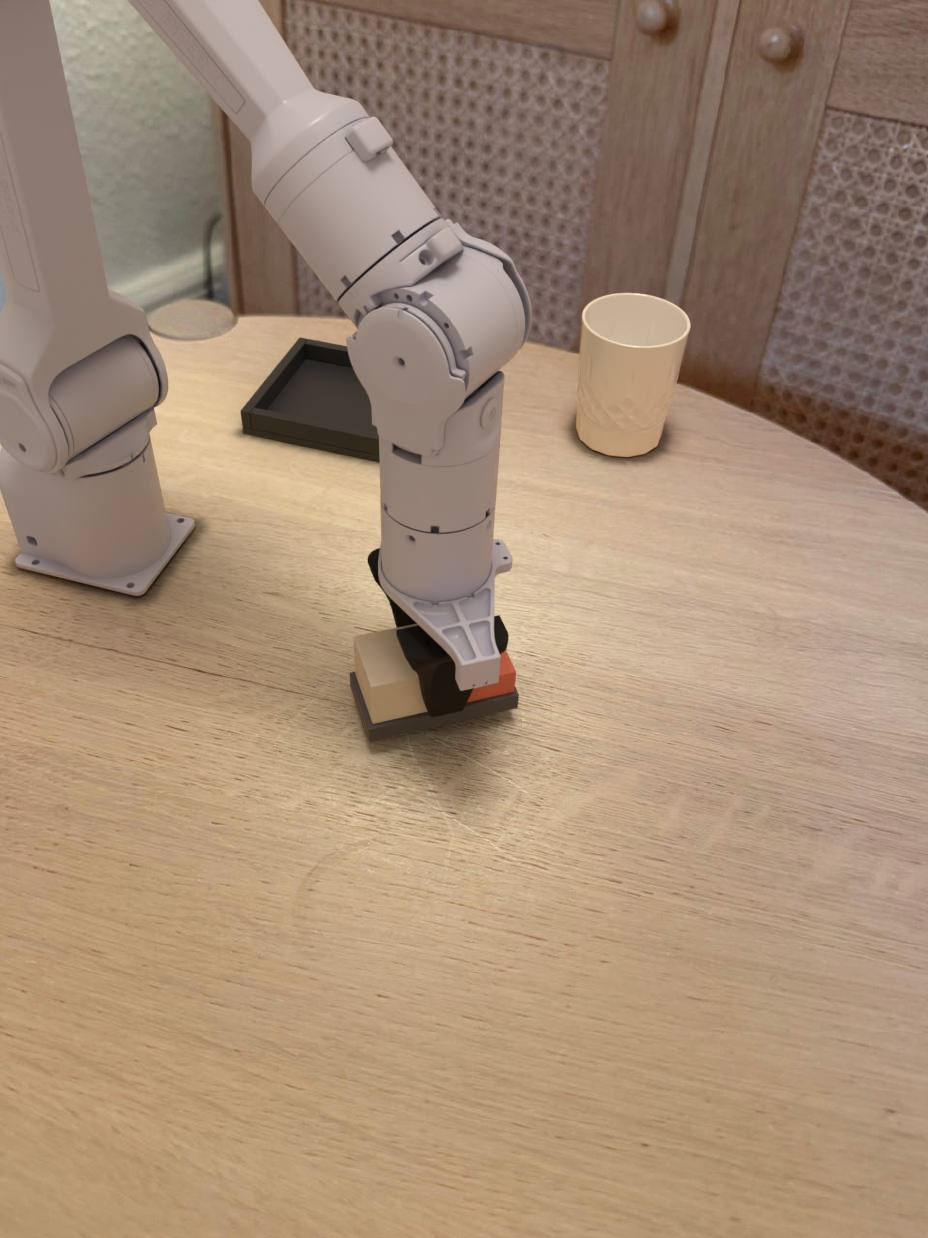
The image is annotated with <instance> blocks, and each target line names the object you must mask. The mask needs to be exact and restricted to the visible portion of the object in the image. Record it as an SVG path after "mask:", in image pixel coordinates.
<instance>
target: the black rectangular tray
mask: <svg viewBox="0 0 928 1238" xmlns="http://www.w3.org/2000/svg"><path fill="white" fill-rule="evenodd" d="M240 418H241V425H242V434H245V435H250V436H255V437H259V438H263V439H269V440H273V441H278V442H284V443H288V444H292V445H298V446H303V447H308V448H311V449H317V450H322V451H326V452H332V453H336V454H341V455H345V456H350V457H354V458H355V457H356V458H359V459H360V458H361V459H365V460H369V461H375V462H379V463H380V459H379V435H378V432H377V427H376V426H374V425H372V409H371V402H370V399H369V396H368V394H367V392H366V390H365V388H364V387H363V385H362V384H361V382H360V381H359V379H358V377H357V375H356V373H355V371H354V369H353V367H352V364H351V361H350V358H349V355H348V350H347V345H343V344H337V343H331V342H326V341H322V340H317V339H311V338H305V337H299V338H298V339H297V340H296V341H295V342H294V344H293V345H292V346H291V347H290V349H289V350H288V351H287V353H285V355H284V356H283V357H282V359H281V360H279V362H278V364H277V365H276V366H275V367H274V369H273V370H272V371H271V372H270V373H269V375H268V376H267V377H266V378H265V380H264V381H263V382H262V383H261V384H260V385H259V387H258V388H257V390H256V391H255V392H254V393H253V394H252V396H251V397H250V398H249V399H248V400H247V402H246V403H245V404H244V406H243V407H242V408H241V410H240Z"/></svg>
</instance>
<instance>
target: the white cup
mask: <svg viewBox="0 0 928 1238" xmlns="http://www.w3.org/2000/svg"><path fill="white" fill-rule="evenodd" d="M691 325H692V324H691V320H690V317H689V316H688V314H687V313H686V312H685V311H684V310H683V309H682V308H680V307H679V306H678V305H676V304H675V303H674V302H671V301H669V300H667V299H664V298H661V297H658V296H654V295H651V294H645V293H639V292H617V293H616V292H615V293H611V294H606V295H603V296H599V297H598V298H595V299H593V300H591V301H590V302H588V303H587V304H586V305H585V307H584V308H583V310H582V313H581V324H580V340H579V354H578V365H577V367H578V368H577V389H576V402H577V407H576V417H575V429H576V432H577V435H578V438H579V440H580V441H581V442H583V443H584V444H585V445H586V446H587V447H588V448H589V449H590V450H593V451H596V452H598V453H601V454H603V455H606V456H609V457H621V458H622V457H623V458H630V457H637V456H641V455H645V454H647V453H649V452H650V451H651V450H653V449H655V448H656V447H658V445H659V442H660V441H661V438H662V435H663V431H664V427H665V423H666V419H667V415H669V412H670V409H671V405H672V401H673V398H674V394H675V391H676V387H677V383H678V379H679V375H680V371H681V368H682V367H681V366H682V363H683V359H684V355H685V351H686V347H687V344H688V338H689V334H690V331H691Z"/></svg>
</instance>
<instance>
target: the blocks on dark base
mask: <svg viewBox="0 0 928 1238" xmlns="http://www.w3.org/2000/svg"><path fill="white" fill-rule="evenodd" d="M417 625H418V624H412V625H407V626H402V627H398V628H396V627H393V628H388V629H384V630H378V631H373V632H369V633H364V634H360V635H354V636H353V654H354V655H353V657H354V671H351V672H349V686H350V690H351V692H352V696H353V698H354V702H355V705H356V707H357V711H358V714H359V717H360V719H361V722H362V725H363V729H364V731H365V734H366V737H367V741H368V742H369V743H372V742H373V743H374V742H377V741H381V740H385V739H388V738H389V739H391V738H394V737H395V738H396V737H398V736H403V735H407V734H411V733H416V732H419V731H420V732H421V731H425V730H429V729H433V728H438V727H442V726H445V725H450V724H454V723H459V722H463V721H467V720H471V719H476V718H480V717H485V716H490V715H494V714H497V713H502V712H506V711H511V710H515V709H518V707H519V698H520V694H519V692H518V690H517V688H516V679H517V670H516V668H515V666H514V664H513V662H512V659H511V658H510V656H509V654H508V652H507V649H506V650H505V651H504V652H503V653H502V654H500V656H501V659H500V671H499V682H498V683H495V684H490V685H487V686H483V687H479V688H474V689H473V691H472V693H471V695H470V697H469V700H468V702H467V704H466V706H465V708H464V710H463V711H460V712H455V713H451V714H447V715H442V716H438V717H434V718H432V717H430V715H429V714H428V711H427V709H426V706H425V704H424V701H423V698H422V694H421V689H420V683H419V678H418V674H417V673H416V672H415V671H414V670H413V669H412V668H411V666H410V665H409V663H408V661H407V660H406V658H405V656H404V653H403V651H402V648H401V646H400V643H399V641H398V638H397V636H396V630H398V629H403V628H408V627H412V626H417Z"/></svg>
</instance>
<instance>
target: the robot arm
mask: <svg viewBox="0 0 928 1238" xmlns="http://www.w3.org/2000/svg"><path fill="white" fill-rule="evenodd" d="M50 1H51V0H0V272H1V276H2V280H3V284H4V287H5V290H6V294H7V300H6V303H5V305H4V306H3V308H2V310H1V311H0V445H1V448H0V494H1V497H2V499H3V502H4V506H5V509H6V511H7V514H8V517H9V520H10V523H11V526H12V529H13V531H14V534H15V537H16V541H17V543H18V546H19V549H20V553H19V554H18V555H17V556H16V558H15V559H14V563H15V565H16V567H17V568H18V569H24V570H27V571H31V572H35V573H40V574H44V575H47V576H52V577H57V578H59V579H65V580H69V581H73V582H77V583H81V584H85V585H88V586H93V587H98V588H100V589H105V590H110V591H113V592H117V593H121V594H126V595H129V596H134V597H141V596H142V595H144V594H146V592H147V591H148V590H149V588H150V587H151V585H152V584H153V583H154V581H155V580H156V579H157V577H158V576H159V575H160V574H161V572H162V571H163V570H164V568H165V567H166V566H167V564H169V562H170V560H171V559H172V558H173V556H174V555H175V554H176V552H177V551H178V549H179V548H180V547H181V546H182V544H183V543H184V542H185V540H186V539H187V538H188V537H189V535H190V534H191V533H192V531H193V530H194V529H195V527H196V523H195V519H194V518H192V517H188V516H184V515H178V514H174V513H170V512H166V511H167V510H166V506H165V502H164V497H163V491H162V487H161V481H160V477H159V472H158V468H157V463H156V458H155V454H154V448H153V444H152V440H151V431H152V430H153V429H154V428H155V427H156V426H158V421H157V415H156V411H155V408H156V407H159V406H160V405H162V404H163V402H164V401H165V400H166V399H167V396H168V393H169V377H168V371H167V368H166V364H165V360H164V358H163V356H162V354H161V352H160V350H159V348H158V347H157V345H156V344H155V341H154V340H153V337H152V334H151V332H150V329H149V324H148V319H147V314H146V313H147V312H146V311H145V309H143V308H142V307H141V306H139V305H138V304H137V303H136V302H135V301H133V300H132V299H130V298H129V297H127V296H125V295H123V294H121V293H119V292H117V291H115V290H114V289H110V288H108V284H107V283H108V282H107V278H106V274H105V268H104V263H103V258H102V253H101V249H100V243H99V239H98V234H97V230H96V224H95V219H94V216H93V215H94V214H93V209H92V204H91V199H90V194H89V189H88V185H87V179H86V175H85V170H84V164H83V159H82V155H81V149H80V145H79V140H78V135H77V130H76V126H75V125H76V124H75V120H74V116H73V110H72V105H71V100H70V95H69V90H68V86H67V81H66V75H65V71H64V66H63V60H62V56H61V52H60V46H59V41H58V37H57V31H56V26H55V22H54V17H53V12H52V7H51V2H50ZM127 2H128V3H129V4H130V5H131V7H133V9H134V10H135V11H136V12H137V13H138V15H140V17H141V18H142V19H143V20H144V21H145V22H146V24H147V25H148V26H149V27H150V28H151V29H152V30H153V32H154V33H155V34H156V35H157V36H158V37H159V38H160V40H161V41H162V42H163V44H165V46H166V47H167V49H169V50H170V51H171V52H172V53H173V55H174V56H175V57H176V58H177V59H178V61H179V62H180V63H181V64H182V65H183V67H185V69H186V70H187V71H188V72H189V73H190V74H191V76H192V77H193V78H194V79H195V80H196V81H197V82H198V83H199V85H200V86H201V87H202V88H203V89H204V91H206V93H207V94H208V95H209V96H210V97H211V98H212V100H213V101H214V102H215V103H216V104H217V105H218V107H219V108H220V109H221V110H222V111H223V112H224V113H225V115H226V116H227V117H228V118H229V119H230V120H231V121H232V123H233V124H234V125H235V126H236V127H237V128H238V130H239V131H240V132H241V133H242V134H243V135H244V136H245V137H246V139H247V140H248V141H249V143H250V150H251V176H250V177H251V179H250V180H251V181H250V182H251V190H252V192H253V194H254V195H255V197H256V198H258V200H259V202H260V203H261V204H262V206H263V207H264V208H265V210H266V211H267V212H268V213H269V215H270V216H271V217H272V219H273V221H275V222H276V224H277V225H278V227H279V228H280V229H281V231H282V232H283V234H285V236H286V237H287V239H288V240H289V241H290V242H291V244H292V245H293V247H294V248H295V249H296V250H297V252H298V253H299V254H300V256H301V257H302V259H304V261H305V262H306V263H307V265H308V266H309V267H310V269H311V271H313V273H314V274H315V275H316V277H317V278H318V279H319V280H320V282H321V283H322V285H323V286H324V287H325V289H326V290H327V291H328V292H329V294H330V295H331V296H332V297H333V299H334V300H335V302H336V303H337V304H338V305H339V307H340V308H341V309H342V311H343V312H344V313H345V314H346V316H347V318H348V319H349V320H350V321H351V323H352V324H353V325H354V326H355V328H356V331H355V332H354V333H353V334H352V336H347V337H346V338H345V342H346V343H345V344H346V346H347V350H348V355H349V358H350V361H351V364H352V367H353V369H354V371H355V373H356V375H357V377H358V379H359V381H360V382H361V384H362V385H363V387H364V388H365V390H366V392H367V394H368V396H369V399H370V402H371V409H372V425H374V426H376V427H377V432H378V435H379V459H380V462H379V491H380V493H379V495H380V496H379V498H380V499H379V504H380V506H379V507H380V543H379V544H380V546H379V547H378V548H375V549H374V550H372V551H371V552H369V554H368V556H367V565H368V567H369V570H370V572H371V575H372V578H373V580H374V582H375V583H376V584H377V585H378V586H379V588H380V589H381V591H382V592H383V593H384V595H385V597H386V599H387V600H388V602H389V605H390V608H391V612H392V616H393V620H394V623H395V628H398V627H402V626H407V625H412V624H418V625H417V626H412V627H408V628H403V629H398V630H396V636H397V638H398V641H399V643H400V646H401V648H402V651H403V653H404V656H405V658H406V660H407V661H408V663H409V665H410V666H411V668H412V669H413V670H414V671H415V672H416V673H417V674H418V678H419V683H420V689H421V694H422V698H423V701H424V704H425V706H426V709H427V711H428V714H429V715H430V717H432V718H434V717H438V716H442V715H447V714H451V713H455V712H460V711H463V710H464V708H465V706H466V704H467V702H468V700H469V697H470V695H471V693H472V691H473V689H474V688H479V687H483V686H487V685H490V684H495V683H498V682H499V671H500V659H501V656H500V654H502V653H503V652H504V651H505V650H506V651H507V648H508V646H509V632H508V630H507V628H506V626H505V623H504V622H503V619H502V617H501V616H500V614H497V615H495V595H496V594H495V591H496V590H495V589H496V577H497V576H498V575H500V574H505V573H508V572H510V571H511V570H512V569H513V555H512V553H511V552H510V550H509V547H508V546H507V545H506V543H505V542H504V541H503V540H501V539H498V538H495V539H494V533H495V530H494V529H495V517H496V506H497V505H496V504H497V490H498V479H499V478H498V477H499V463H500V448H501V437H502V436H501V433H502V422H503V421H502V418H503V406H504V405H503V403H504V389H505V372H503V371H502V370H501V369H502V368H503V367H504V366H505V365H507V364H508V363H509V362H510V361H512V360H513V359H514V358H515V356H516V355H517V354H518V352H519V351H520V350H521V349H523V347H524V345H525V343H526V342H527V341H528V338H529V335H530V333H531V330H532V324H533V309H532V302H531V298H530V295H529V292H528V289H527V286H526V284H525V282H524V281H523V279H522V277H521V275H520V274H519V272H518V271H517V268H516V265H515V262H514V261H513V259H512V258H511V257H510V256H509V255H508V254H507V253H506V252H504V250H502V249H501V248H499V247H498V246H496V245H495V244H493V243H490V242H489V241H487V240H484V239H481V238H478V237H474V236H472V235H470V234H469V233H467V232H466V231H465V230H464V229H463V228H462V226H461V225H460V223H459V222H455V223H453V221H452V220H451V219H450V218H447V219H444V218H443V216H442V215H441V213H440V212H439V210H438V209H437V208H436V207H435V205H434V203H432V201H431V199H430V198H429V197H428V195H427V193H426V192H425V191H424V190H423V189H422V187H421V186H420V184H419V182H418V181H417V180H416V178H414V176H413V175H412V174H411V172H410V170H409V169H408V168H407V166H406V165H405V164H404V162H403V161H402V159H401V158H400V157H399V155H398V154H397V153H396V151H395V149H393V147H392V146H393V143H394V141H393V138H392V137H391V135H390V133H389V132H388V131H387V129H386V128H385V126H384V125H383V124H382V123H381V121H380V119H378V117H376V116H371V117H370V115H369V114H368V113H367V111H366V109H364V107H363V105H362V104H361V103H360V102H359V101H358V100H355V99H353V98H350V97H346V96H341V95H336V94H331V93H327V92H323V91H321V90H318V89H315V88H314V86H313V84H312V83H311V81H310V80H309V78H308V76H307V75H306V73H305V72H304V70H303V69H302V67H301V66H300V64H299V61H297V59H296V57H295V56H294V54H293V52H292V51H291V50H290V48H289V47H288V45H287V43H286V41H285V40H284V39H283V37H282V36H281V34H280V32H279V31H278V29H277V27H276V26H275V24H274V23H273V21H272V19H271V18H270V16H269V15H268V13H267V12H266V10H265V9H264V7H263V6H262V4H261V2H260V1H259V0H127Z"/></svg>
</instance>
